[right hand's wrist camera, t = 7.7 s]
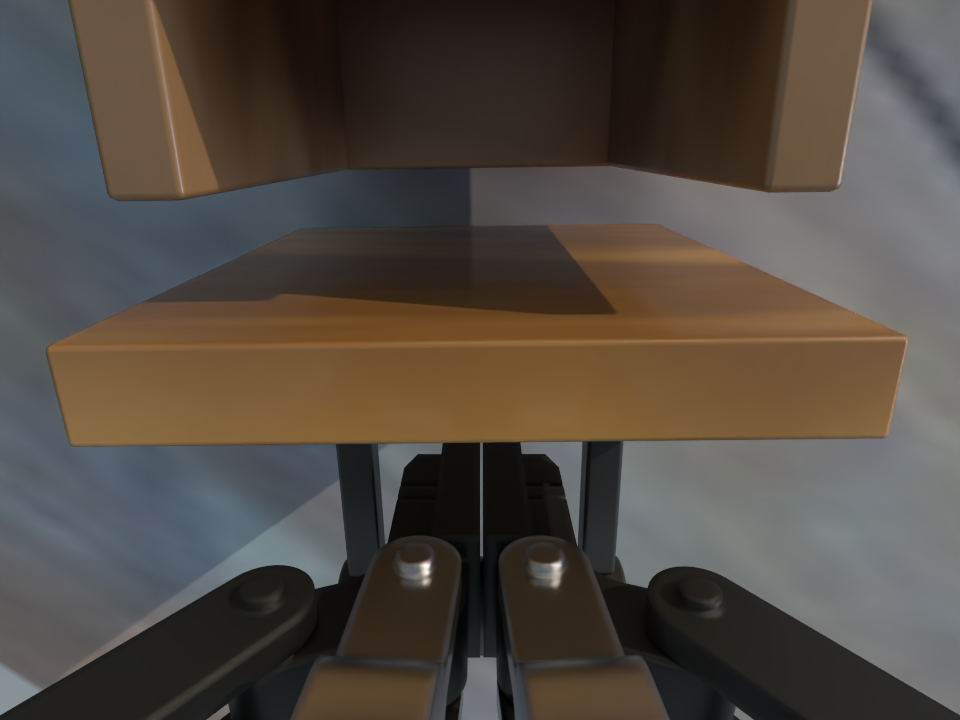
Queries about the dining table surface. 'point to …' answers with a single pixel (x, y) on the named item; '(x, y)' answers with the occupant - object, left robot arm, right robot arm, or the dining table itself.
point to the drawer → (474, 234)
